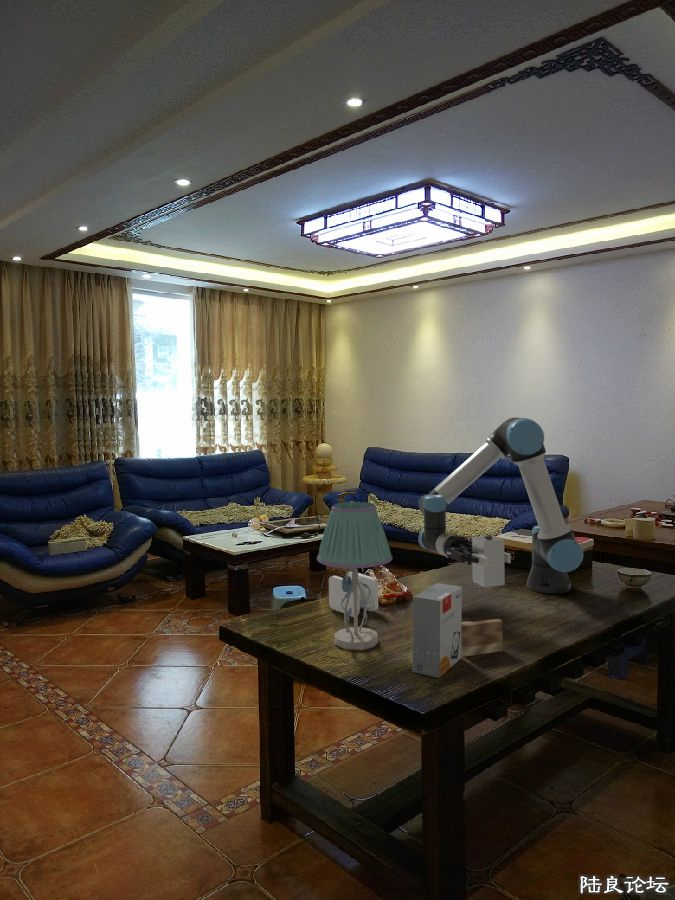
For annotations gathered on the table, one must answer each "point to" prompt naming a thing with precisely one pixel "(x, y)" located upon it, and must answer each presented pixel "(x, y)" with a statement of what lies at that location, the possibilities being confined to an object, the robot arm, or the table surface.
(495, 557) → the block
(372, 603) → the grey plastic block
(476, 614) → the table surface
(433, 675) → the hard drive box
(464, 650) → the dock
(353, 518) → the table lamp
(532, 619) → the table surface
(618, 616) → the table surface
